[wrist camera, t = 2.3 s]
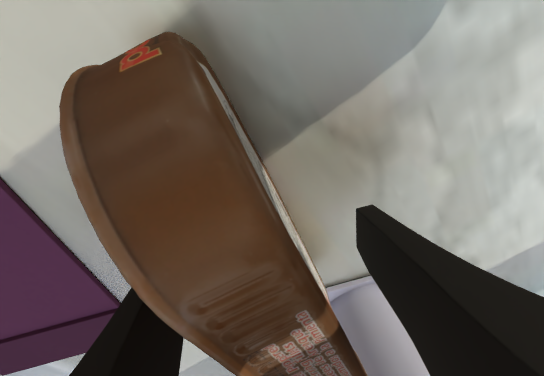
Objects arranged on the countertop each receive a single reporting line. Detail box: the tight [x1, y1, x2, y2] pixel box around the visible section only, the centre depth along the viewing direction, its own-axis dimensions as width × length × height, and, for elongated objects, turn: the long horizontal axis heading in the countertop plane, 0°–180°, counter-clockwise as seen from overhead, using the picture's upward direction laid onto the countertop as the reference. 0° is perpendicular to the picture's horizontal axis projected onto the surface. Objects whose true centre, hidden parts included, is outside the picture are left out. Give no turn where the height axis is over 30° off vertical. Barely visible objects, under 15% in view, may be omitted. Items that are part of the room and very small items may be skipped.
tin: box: [59, 32, 368, 376], centre depth 10 cm, size 15×3×8 cm, turn 23°
